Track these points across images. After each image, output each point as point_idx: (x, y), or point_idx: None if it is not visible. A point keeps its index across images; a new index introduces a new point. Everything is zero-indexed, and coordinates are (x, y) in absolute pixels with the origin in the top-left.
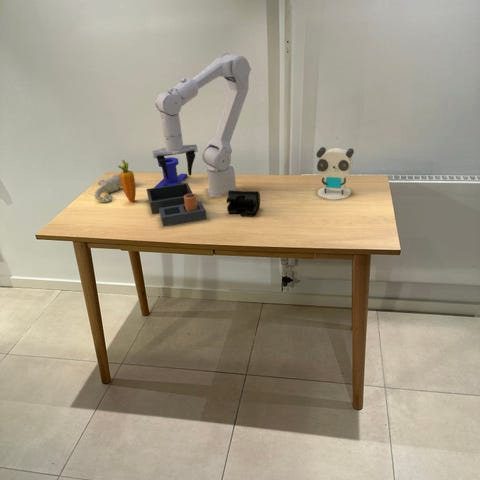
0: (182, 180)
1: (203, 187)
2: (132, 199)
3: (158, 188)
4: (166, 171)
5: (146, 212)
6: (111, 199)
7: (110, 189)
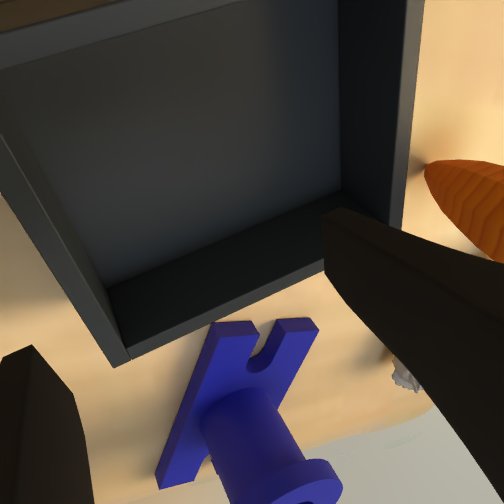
0: (175, 435)
1: None
2: (449, 163)
3: None
4: (413, 256)
5: None
6: None
7: None
